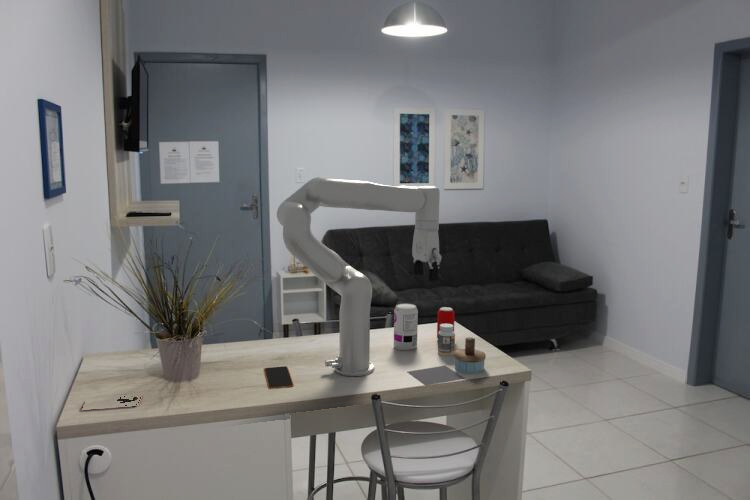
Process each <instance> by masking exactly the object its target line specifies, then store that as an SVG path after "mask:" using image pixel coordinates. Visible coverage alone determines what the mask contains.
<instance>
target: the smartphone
mask: <svg viewBox="0 0 750 500" xmlns="http://www.w3.org/2000/svg"><path fill="white" fill-rule="evenodd" d="M264 371H265V372H264ZM263 372H264V376H265V375H266V376H265V379H267V380H266V383H268V384H267V387H268V389H269V388H276V389H282V388H281V387H287V388H293V386H294V387H295V385H294V382H293V379H292V376H291V372H290V369H289V368H288V366H285V365H282V366H274V367H265V368H263Z"/></svg>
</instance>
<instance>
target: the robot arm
mask: <svg viewBox="0 0 750 500" xmlns="http://www.w3.org/2000/svg"><path fill="white" fill-rule="evenodd" d="M440 193H441V192H440V188H439V187H437V186H433V185H423V186H409V185H398V186H393V185H386V184H380V183H374V182H370V181H365V180H364V181H363V180H350V179H339V178H338V179H335V178H326V177H322V176H321V177H320V176H317V177H313V178H311V179H309V180H308V181H307V182H306V183H305V184H303V185H302V186H301V187H300V188H298V189H297V190H296V191H295V192H294V193H292V194H291V195H290V196H289V197H287V198H286V199H285V200H283V201H282V202H281V203H280V205H279V206H278V208H277V210H276V218H277V222H279V224H280V225H281V226H282V239H283V244H284V246H285V248H286V249H287V251H288V252H289V253H290V254H291V255H292V256H293V257H294V258H295V259H296V260H298V261H299V262H300V263H301V264H302V265H303V266H305V267H306V268H307V269H308V270H309V272H310V273H311V274H312V275H314V276H315V277H316V278H317V279H319V280H320V281H321V282H323V283H324V284H325V285H327V287H329V288H330V289H332V290H333V291H335V293H337V294H338V295H340V296H341V297H340V298H341V299H340V304H339V305H340V307H339V318H338V319H339V321H338V322H339V354H337V355H336V357H335V358H333V359H327V360H324V365H325V367H331V368H332V369H334V371H335V372H336V373H337V374H340V375H343V376H345V377H346V376H348V377H362V376H366V375H369V374H371V373H373V372H374V371H375V365H374V363H372V362H371V361H370V357H371V356H370V346H371V344H370V343H371V342H370V341H371V340H370V338H371V336H370V335H371V334H370V333H371V332H370V331H371V330H370V328H371V326H370V325H371V321H370V320H371V318H370V317H371V315H370V314H371V303H372V298H373V287H372V282H371V280H370V279H369V278H368V277H367V275H365V274H364V273H362V272H361V271H358V270H357V269H355V268H354V267H353V266H351V265H350V264H349V263H347V262H346V261H345V260H344V259H343V258H342V257H341V256H340V255H339V254H338V253H336V252H335V251H334V250H333V249H330V248H329V247H328V246H326V245H325V244H324V243H322V242H321V241H320V240H319V239H318V238H317V237H316V236H314V234H313V233H312V229H311V223H312V215H311V214H313V213H314V212H315V211H316V210H317V209H318V208H320V207H323V208H336V209H337V208H338V209H340V208H341V209H353V210H366V211H383V212H384V211H385V212H400V213H415V215H414V225H415V226H414V232H413V236H412V238H413V239H412V248H411V251H412V252H411V254H412V255H411V256H412V258H413V260H412V262H413V275H415V276H421V275H424V263H428V266H429V268H428V281H429V282H436V281H438V280H439V270H440V266H441V261H442V255H441V254H440V239H439V230H440V229H439V225H440Z"/></svg>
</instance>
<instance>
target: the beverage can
mask: <svg viewBox="0 0 750 500" xmlns="http://www.w3.org/2000/svg"><path fill="white" fill-rule="evenodd" d="M455 315H456V314H455V311H454V309H453V308H452V307H447V306H443V307H440V308H439V310H437V324H436V325H437V328H436V338H437V339H438V332H439V331H440V325H441V324H452V325H453V326H454V328H453V331H454V332H455V318H456V317H455Z"/></svg>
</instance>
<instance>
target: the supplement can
mask: <svg viewBox="0 0 750 500" xmlns="http://www.w3.org/2000/svg"><path fill="white" fill-rule="evenodd" d="M393 312H394V313H393V316H394V318H393V346H394V347H395V349H397V350H400V351H412V350H415V349H416V348H417V347H418V327H419V326H418V322H419V321H418V320H419V316H418V314H419V310H418V308H417V305H415V304H412V303H399V304H396V305H395V308H394V310H393Z"/></svg>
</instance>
